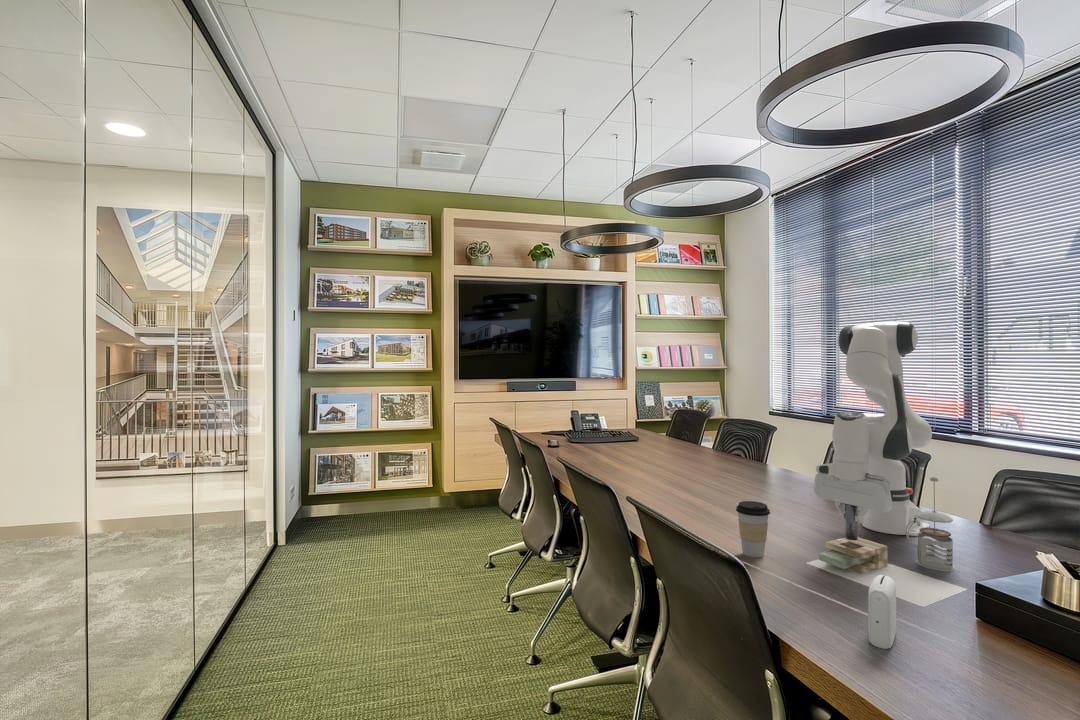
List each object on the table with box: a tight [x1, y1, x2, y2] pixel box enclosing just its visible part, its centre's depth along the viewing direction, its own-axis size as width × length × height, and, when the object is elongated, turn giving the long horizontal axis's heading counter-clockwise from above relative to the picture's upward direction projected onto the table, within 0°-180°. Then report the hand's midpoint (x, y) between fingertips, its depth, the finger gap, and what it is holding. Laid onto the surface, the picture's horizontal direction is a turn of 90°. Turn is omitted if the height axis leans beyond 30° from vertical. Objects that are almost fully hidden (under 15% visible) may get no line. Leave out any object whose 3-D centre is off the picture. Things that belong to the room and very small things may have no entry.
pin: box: [844, 504, 859, 540], centre depth 145 cm, size 3×3×10 cm
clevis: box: [818, 536, 888, 574], centre depth 145 cm, size 17×10×6 cm, turn 117°
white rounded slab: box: [867, 575, 897, 650], centre depth 108 cm, size 10×4×12 cm, turn 140°
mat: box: [806, 558, 969, 608], centre depth 138 cm, size 20×30×1 cm, turn 27°
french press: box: [905, 476, 957, 572], centre depth 146 cm, size 10×12×25 cm
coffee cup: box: [735, 500, 771, 558], centre depth 155 cm, size 9×9×15 cm
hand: (851, 520), depth 145 cm, fingers closed on pin, 3 cm apart
